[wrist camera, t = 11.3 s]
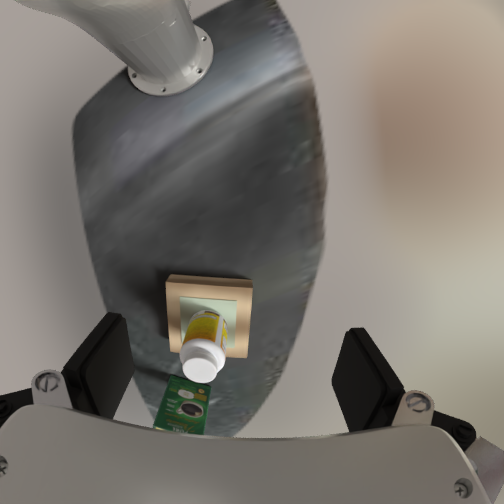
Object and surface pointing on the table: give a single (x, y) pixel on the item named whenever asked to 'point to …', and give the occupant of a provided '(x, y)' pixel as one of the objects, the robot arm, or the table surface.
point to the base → (210, 308)
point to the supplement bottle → (204, 346)
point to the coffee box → (183, 407)
